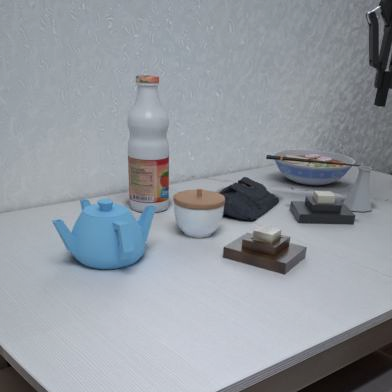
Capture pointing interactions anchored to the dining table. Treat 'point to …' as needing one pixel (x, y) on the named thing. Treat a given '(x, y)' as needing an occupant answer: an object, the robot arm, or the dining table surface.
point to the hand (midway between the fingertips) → (379, 105)
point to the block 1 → (265, 253)
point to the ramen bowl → (312, 165)
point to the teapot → (106, 234)
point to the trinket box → (198, 211)
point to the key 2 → (324, 197)
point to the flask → (360, 192)
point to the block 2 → (321, 212)
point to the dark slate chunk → (247, 200)
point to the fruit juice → (148, 148)
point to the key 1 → (267, 234)
